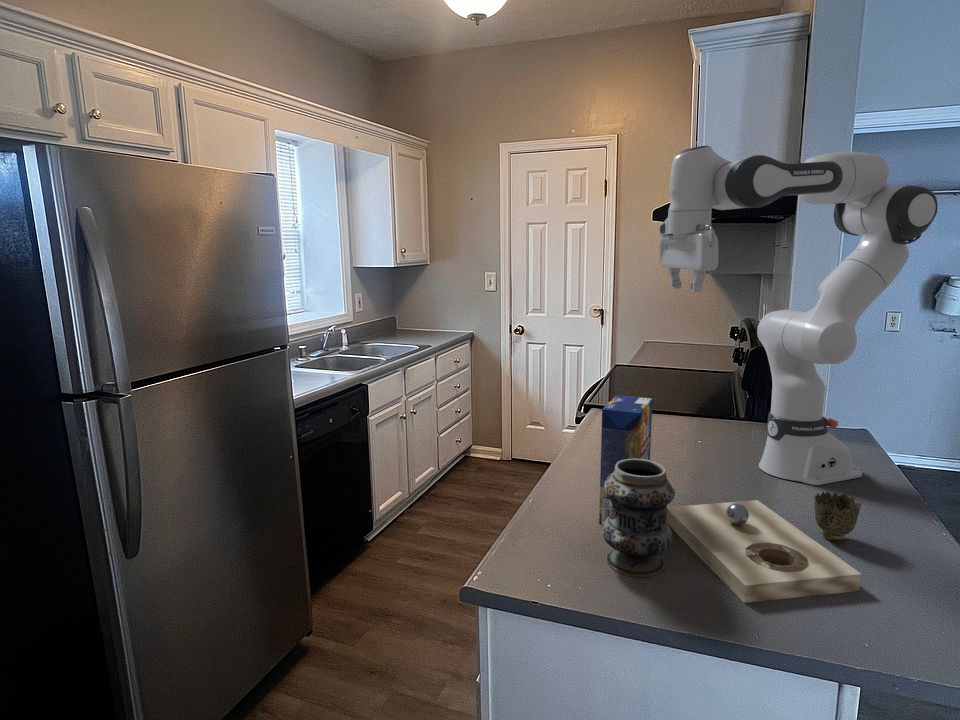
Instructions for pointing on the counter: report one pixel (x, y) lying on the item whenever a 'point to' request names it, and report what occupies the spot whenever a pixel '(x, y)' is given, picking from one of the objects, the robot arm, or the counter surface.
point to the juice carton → (623, 438)
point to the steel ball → (737, 514)
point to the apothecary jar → (638, 517)
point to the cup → (836, 515)
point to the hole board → (761, 553)
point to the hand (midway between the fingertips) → (685, 289)
